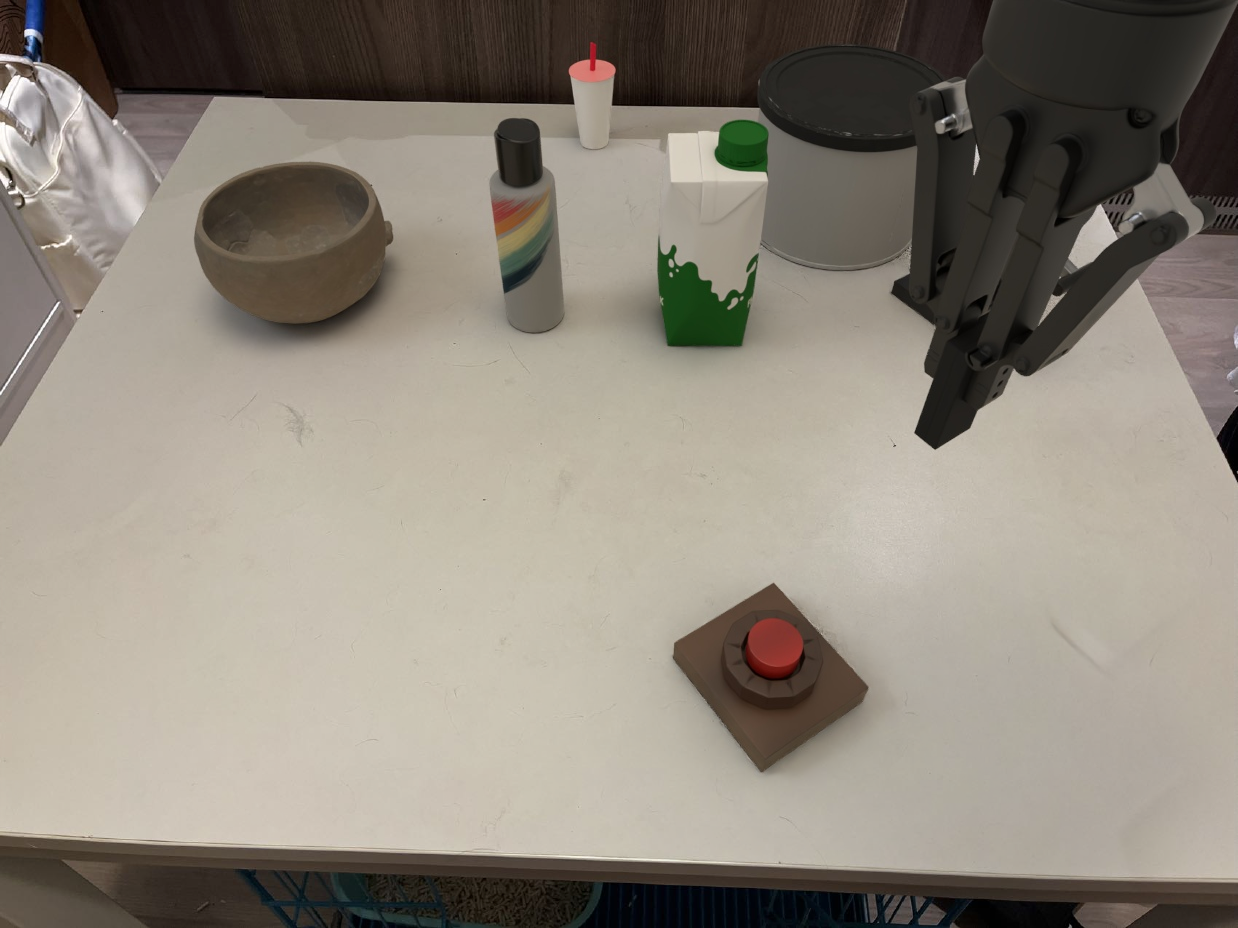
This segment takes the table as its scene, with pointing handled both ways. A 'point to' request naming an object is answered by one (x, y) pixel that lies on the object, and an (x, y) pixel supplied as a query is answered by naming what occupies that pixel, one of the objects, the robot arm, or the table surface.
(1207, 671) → the table surface
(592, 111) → the cup
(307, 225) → the bowl
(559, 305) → the lotion bottle
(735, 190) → the milk carton
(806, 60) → the container
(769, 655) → the red push button
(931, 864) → the table surface
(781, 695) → the control block
